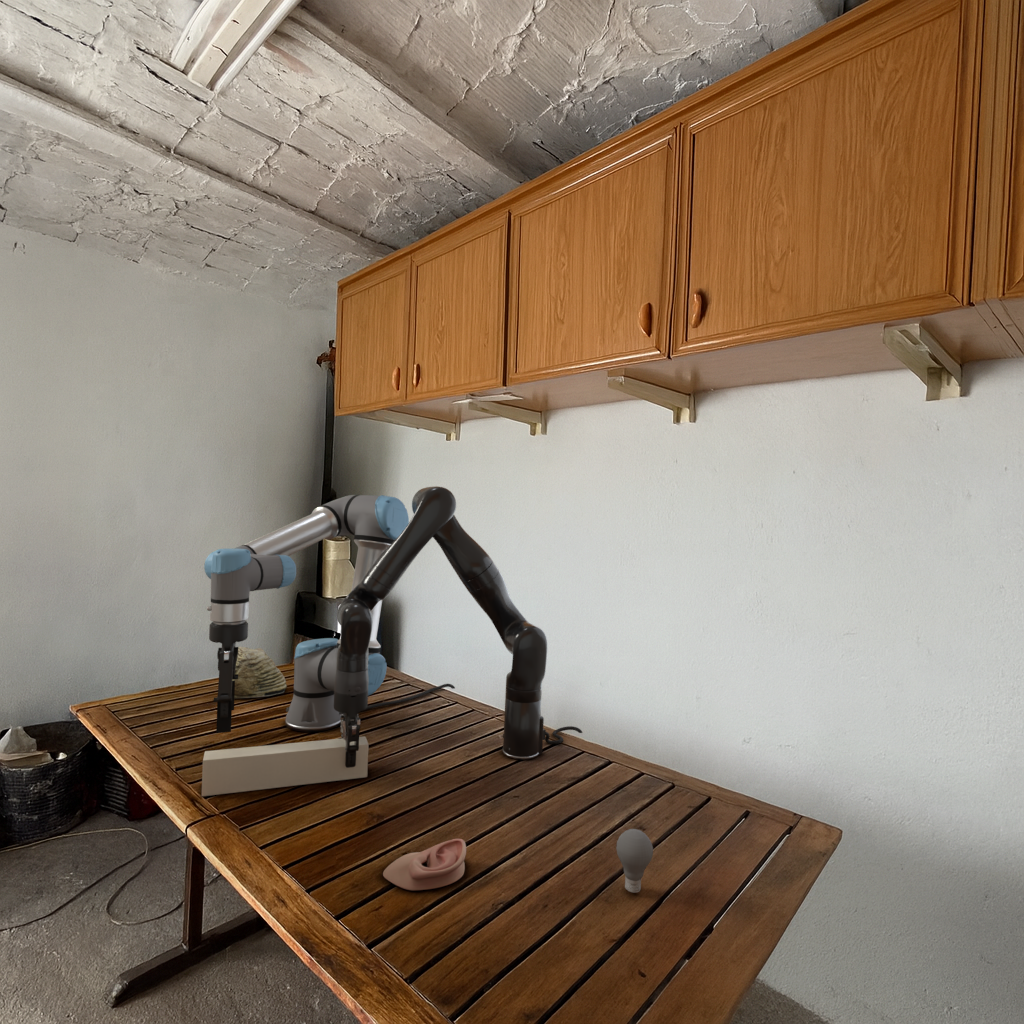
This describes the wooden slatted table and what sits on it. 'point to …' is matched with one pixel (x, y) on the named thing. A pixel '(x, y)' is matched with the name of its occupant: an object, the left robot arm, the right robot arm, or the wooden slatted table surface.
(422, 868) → the anatomical model
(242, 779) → the beam
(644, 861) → the light bulb
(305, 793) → the wooden slatted table surface
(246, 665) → the fossil
